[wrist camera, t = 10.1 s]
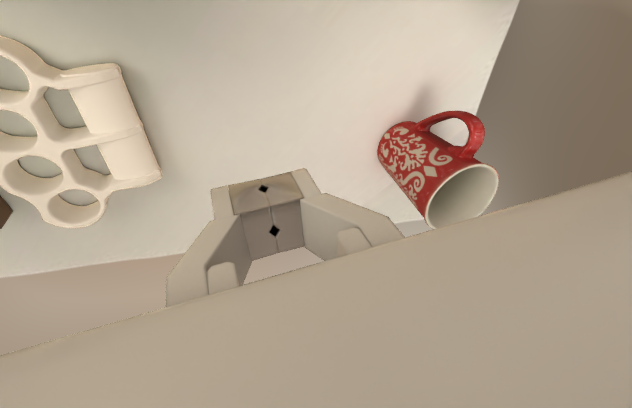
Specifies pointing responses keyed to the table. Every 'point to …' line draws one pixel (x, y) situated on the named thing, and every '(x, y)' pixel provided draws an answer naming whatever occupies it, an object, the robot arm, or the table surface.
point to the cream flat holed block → (73, 138)
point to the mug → (439, 169)
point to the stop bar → (4, 212)
